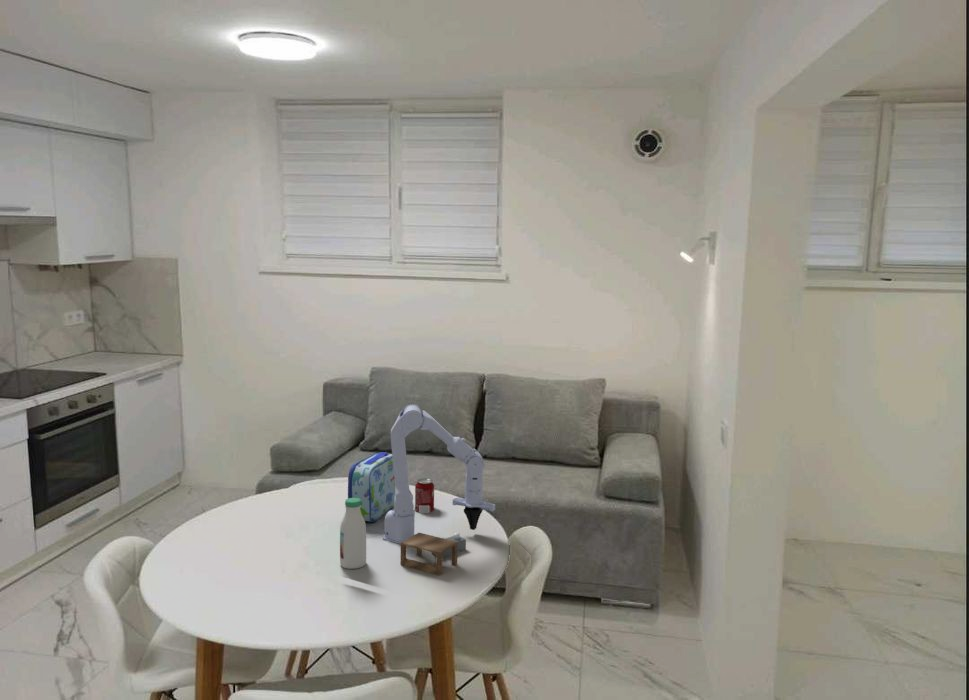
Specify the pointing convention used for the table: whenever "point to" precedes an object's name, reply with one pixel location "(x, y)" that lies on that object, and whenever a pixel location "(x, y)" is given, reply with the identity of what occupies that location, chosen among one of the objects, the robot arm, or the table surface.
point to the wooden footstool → (429, 545)
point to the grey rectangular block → (460, 544)
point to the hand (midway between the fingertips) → (473, 528)
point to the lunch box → (373, 485)
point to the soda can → (424, 495)
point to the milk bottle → (353, 536)
